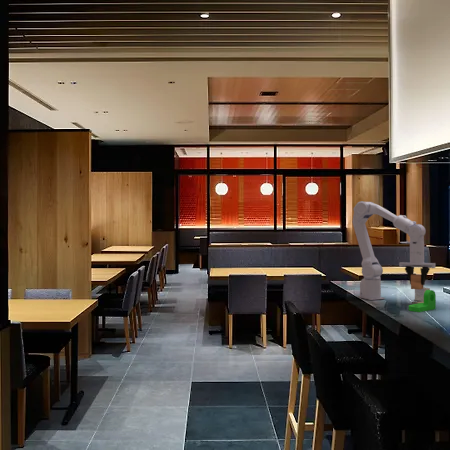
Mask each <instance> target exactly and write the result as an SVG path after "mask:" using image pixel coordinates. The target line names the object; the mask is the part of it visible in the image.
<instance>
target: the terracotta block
mask: <svg viewBox="0 0 450 450" xmlns="http://www.w3.org/2000/svg"><path fill="white" fill-rule="evenodd" d="M423 287H424V285H421V273H420V274H418V273H413V274H412V275H411V284H410V290H415V289H419V290H421V289H423Z"/></svg>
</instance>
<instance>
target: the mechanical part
mask: <svg viewBox="0 0 450 450" xmlns="http://www.w3.org/2000/svg"><path fill="white" fill-rule="evenodd" d="M436 296H437V295H436V292H435V290H433V289H430V290H426V291H425V293H424V303H418V304H412V303H411V304H409V305H408V311H409V312H414V313H422V312H426V311H427V312H429V311H432V310H436V309H437V307H436V306H437V305H436V304H437V302H436V299H437V297H436Z"/></svg>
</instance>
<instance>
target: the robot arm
mask: <svg viewBox="0 0 450 450" xmlns="http://www.w3.org/2000/svg"><path fill="white" fill-rule="evenodd" d="M373 215H378V216H380V217H382V218H384V219H385V220H387V221H390V222H392V225H393V226H394V227H395V228H396V229H398V230H400V231H401V232H403V233H404V234H407V235H408V236H409V261H408V262H406V261H402V262H398V263H399V265H398V266H399V268H404V271H405V272H406V275H407V277H408V280H409V284H410V285H411V275H412V274H415V273H414V272H415V271H414V270H415V268H420V274H421V285H423V286H424V285H426V278H427V276H428V274H429V272H430V270H431V269H436V262H425V240H424V239H425V238H424V236H425V235H426V228H425V226H424V225H422V224H421V223H417V221H415V220H414V221H413V220H411V219H409V218H408V217H407V216H406V214H405V215H402V214H399V215H396V214H394V213H392V212H391V211H389V210H388V209H387V208H385V207H383V206H381V205H379V204H377V203H374V202H373V201H362V200H361V201H358V202H357V203H356V204H355V206H354V207H353V215H352V226H353V229H354V233H355V236H356V240H357V244H358V247H359V250H360V254H361V257H362V260H361V274H362V276H363V278H362V279H360V282H359V296H358V298H360V299H365V300H368V301H371V300H373V301H374V300H385V299H386V298H385V297H382V293H381V292H382V289H381V288H382V286H381V285H382V284H381V283H382V282H381V281H382V280H381V276H382V274H383V273H384V271H383V270H384V269H383V267H382V265H381V264H380V262H379V259H377V257H376V256H375V252H374V250H373V246H372V242H371V239H370V236H369V233H368V228H367V225H366V223H367V221H368V220H369V219H370V218H371V217H373Z"/></svg>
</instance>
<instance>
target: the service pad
mask: <svg viewBox="0 0 450 450" xmlns="http://www.w3.org/2000/svg"><path fill="white" fill-rule="evenodd" d="M418 303H424V302H423V301H419V302H417V301H412V302H411V305H412V304H418Z"/></svg>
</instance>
